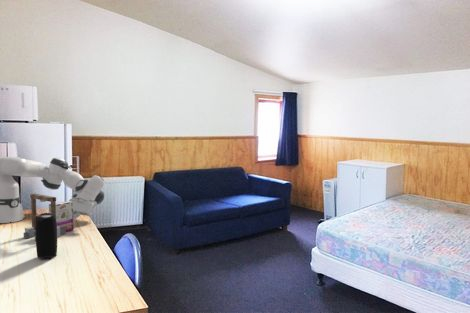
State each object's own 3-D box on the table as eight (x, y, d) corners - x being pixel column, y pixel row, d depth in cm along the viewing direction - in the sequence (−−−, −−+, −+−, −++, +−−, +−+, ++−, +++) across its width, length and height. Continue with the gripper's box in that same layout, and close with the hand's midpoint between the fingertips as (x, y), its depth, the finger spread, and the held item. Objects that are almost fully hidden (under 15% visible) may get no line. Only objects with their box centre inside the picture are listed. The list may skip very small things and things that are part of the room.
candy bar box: (68, 228, 206) (68, 200, 205) (73, 230, 203) (72, 201, 202) (49, 233, 197) (48, 203, 196) (53, 235, 194) (52, 205, 193)
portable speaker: (37, 262, 157) (35, 218, 155) (35, 255, 165) (34, 213, 163) (58, 258, 161) (57, 216, 160) (56, 252, 169) (55, 211, 168)
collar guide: (22, 238, 188) (21, 228, 188) (50, 230, 202) (50, 221, 202) (38, 242, 182) (38, 233, 181) (66, 234, 196) (66, 225, 195)
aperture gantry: (31, 234, 195) (29, 194, 193) (36, 233, 197) (34, 193, 195) (52, 240, 186) (51, 198, 184) (57, 238, 189) (56, 197, 187)
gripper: (101, 204, 210) (88, 225, 202) (77, 200, 219) (63, 219, 212) (95, 198, 206) (81, 219, 198) (70, 194, 215) (56, 214, 207)
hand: (72, 219), depth 205 cm, fingers closed
